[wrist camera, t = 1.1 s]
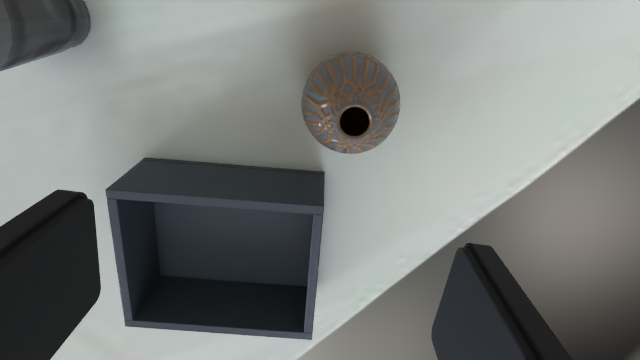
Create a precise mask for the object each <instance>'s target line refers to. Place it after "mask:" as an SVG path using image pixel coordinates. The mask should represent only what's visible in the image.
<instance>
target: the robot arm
mask: <svg viewBox="0 0 640 360" xmlns="http://www.w3.org/2000/svg"><path fill="white" fill-rule="evenodd" d="M100 290H101V284H100V273H99V261H98V249H97V237H96V225H95V213H94V204H93V202H92V200H90V199H88V198H87V196H86V194H84V193H82V192H74V191H66V190H56V191H54V192H53V193H51V194H50V195H48V196H47V197H45V198H44V199H42V200H41V201H39V202H37V203H36V204H34V205H33V206H31V207H30V208H28V209H27V210H25V211H24V212H22V213H21V214H19V215H18V216H16V217H15V218H13V219H11V220H10V221H8V222H7V223H5V224H4V225H2V226H1V227H0V360H50V359H51V358H52V356H53V355H54V354H55V353H56V351H57V350H58V349H59V348H60V346H61V345H62V344H63V343H64V341H65V340H66V339H67V338H68V336H69V335H70V334H71V333H72V331H73V330H74V329H75V328H76V326H77V325H78V324H79V323H80V321H81V320H82V319H83V318H84V316H85V315H86V314H87V313H88V311H89V310H90V309H91V308H92V306H93V305H94V304H95V303H96V301H97V299H98V297H99V294H100ZM432 342H433V345H434V349H435V352H436V355H437V358H438V360H572V359H571V357H570V356H569V354H568V353H567V351H566V350H565V349H564V347H563V346H562V345H561V343H560V342H559V340H558V339H557V338H556V336H555V335H554V333H553V332H552V331H551V329H550V328H549V326H548V325H547V323H546V322H545V321H544V319H543V318H542V316H541V315H540V314H539V312H538V311H537V310H536V308H535V307H534V305H533V304H532V302H531V301H530V300H529V298H528V297H527V296H526V294H525V293H524V291H523V290H522V289H521V287H520V286H519V284H518V283H517V281H516V280H515V279H514V277H513V276H512V274H511V273H510V272H509V270H508V269H507V267H506V266H505V265H504V263H503V262H502V261H501V259H500V258H499V256H498V255H497V253H496V252H495V251H494V250H493V248H492V247H491V246H488V245H480V244H472V243H467V244H466V245H465V246H464V248H458V250H457V252H456V254H455V258H454V261H453V264H452V267H451V270H450V273H449V276H448V280H447V283H446V286H445V289H444V292H443V295H442V298H441V302H440V305H439V308H438V311H437V314H436V317H435V320H434V324H433V327H432Z"/></svg>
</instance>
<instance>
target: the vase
mask: <svg viewBox="0 0 640 360" xmlns="http://www.w3.org/2000/svg"><path fill="white" fill-rule="evenodd" d="M399 111H400V94H399V89H398V86H397V83H396V81H395V79H394V77H393V76H392V74H391V73H390V71H389V70H388V69H387V68H386V67H385V66H384V65H383V64H382V63H381V62H379V61H378V60H376V59H375V58H373V57H371V56H368V55H366V54H362V53H355V52H347V53H340V54H337V55H334V56H331V57H329V58H328V59H326V60H324V61H323V62H322V63H320V64H319V65H318V66H317V67H316V68H315V69H314V70H313V71H312V73H311V74H310V76H309V78H308V79H307V81H306V84H305V86H304V89H303V94H302V114H303V118H304V121H305V123H306V125H307V127H308V129H309V131H310V132H311V134H312V135H313V136H314V137H315V138H316V139H317V140H318V141H319V142H320V143H321V144H322V145H324V146H325V147H327V148H329V149H331V150H334V151H336V152H340V153H347V154H354V153H361V152H365V151H367V150H370V149H372V148H374V147H376V146H377V145H379V144H380V143H381V142H383V141H384V140H385V139H386V138H387V137H388V135H389V134H390V133H391V131H392V130H393V128H394V126H395V124H396V122H397V119H398V115H399Z"/></svg>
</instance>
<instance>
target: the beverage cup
mask: <svg viewBox="0 0 640 360" xmlns="http://www.w3.org/2000/svg"><path fill="white" fill-rule="evenodd" d="M89 29H90V16H89V13H88V10H87V7H86V5H85V4H84V2H83V0H0V71H3V70H6V69H9V68H12V67H15V66H19V65H22V64H25V63H28V62H31V61H34V60H37V59H41V58H44V57H47V56H50V55H53V54H56V53H59V52H63V51H65V50H67V49H69V48H71V47H75V46H77V45H79V44H80V43H82V42H83V41H84V40H85V38H86V37H87V35H88V32H89Z"/></svg>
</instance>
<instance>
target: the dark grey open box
mask: <svg viewBox="0 0 640 360" xmlns="http://www.w3.org/2000/svg"><path fill="white" fill-rule="evenodd" d="M106 197H107V204H108V211H109V218H110V224H111V231H112V238H113V245H114V252H115V259H116V266H117V273H118V280H119V287H120V294H121V301H122V308H123V315H124V319H125V320H124V322H125V326H129V327H142V328H156V329H170V330H184V331H197V332H211V333H225V334H239V335H253V336H266V337H280V338H294V339H308V340H312V331H313V320H314V309H315V298H316V287H317V276H318V265H319V254H320V243H321V233H322V222H323V211H324V172H317V171H305V170H292V169H279V168H267V167H254V166H241V165H229V164H216V163H203V162H190V161H178V160H165V159H152V158H144V159H143V160H142V161H140V162H139V163H138V164H137V165H135V166H134V167H133V168H132V169H130V170H129V171H128V172H127V173H126V174H124V175H123V176H122V177H121V178H119V179H118V180H117V181H116V182H114V183H113V184H112V185H111V186H109V187H108V188H107V189H106Z"/></svg>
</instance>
